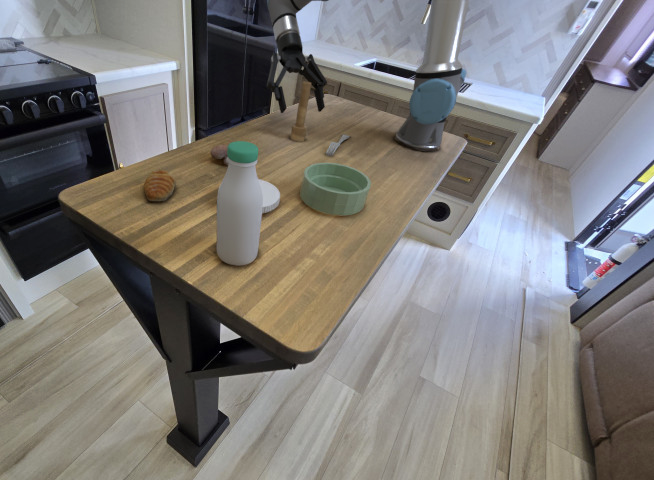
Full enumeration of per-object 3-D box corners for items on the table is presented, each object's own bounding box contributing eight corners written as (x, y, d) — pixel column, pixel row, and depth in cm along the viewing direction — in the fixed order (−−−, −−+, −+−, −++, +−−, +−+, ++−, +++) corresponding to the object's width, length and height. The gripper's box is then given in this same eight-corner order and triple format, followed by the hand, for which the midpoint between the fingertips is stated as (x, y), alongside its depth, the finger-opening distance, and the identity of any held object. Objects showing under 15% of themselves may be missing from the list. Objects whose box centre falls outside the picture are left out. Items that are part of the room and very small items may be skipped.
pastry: (172, 205, 72) (170, 188, 70) (140, 203, 71) (137, 187, 69) (176, 184, 79) (175, 169, 76) (147, 183, 78) (144, 167, 75)
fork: (348, 144, 116) (351, 135, 114) (332, 156, 100) (335, 147, 99) (341, 142, 117) (343, 133, 115) (324, 154, 101) (326, 144, 99)
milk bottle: (265, 258, 62) (279, 152, 48) (230, 272, 59) (234, 160, 45) (243, 237, 66) (250, 133, 52) (209, 248, 63) (206, 139, 49)
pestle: (295, 134, 111) (303, 79, 100) (307, 139, 109) (317, 83, 98) (287, 138, 108) (295, 81, 97) (300, 142, 106) (309, 85, 95)
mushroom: (244, 167, 89) (241, 148, 93) (234, 149, 84) (232, 130, 88) (219, 177, 91) (217, 158, 95) (208, 160, 86) (207, 140, 90)
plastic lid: (283, 193, 81) (284, 183, 79) (272, 223, 71) (274, 213, 69) (228, 182, 82) (228, 173, 80) (210, 211, 72) (210, 200, 70)
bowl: (318, 179, 88) (323, 157, 84) (372, 200, 83) (380, 177, 79) (287, 200, 79) (291, 176, 75) (346, 225, 73) (354, 201, 69)
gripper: (316, 50, 109) (329, 115, 110) (246, 47, 100) (262, 117, 101) (328, 32, 102) (343, 102, 103) (254, 28, 93) (271, 104, 94)
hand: (303, 110), depth 102 cm, fingers open, 13 cm apart
